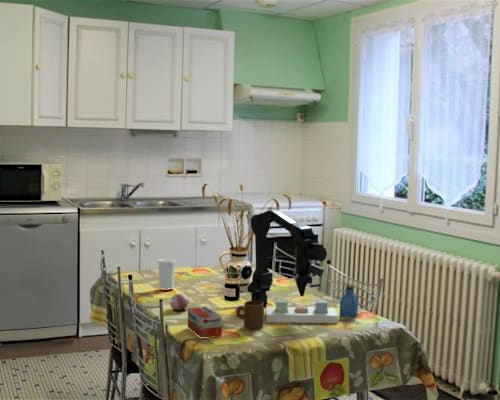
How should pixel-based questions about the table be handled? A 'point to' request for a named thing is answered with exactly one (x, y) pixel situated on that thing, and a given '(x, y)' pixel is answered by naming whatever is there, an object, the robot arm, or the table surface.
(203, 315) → the medicine box
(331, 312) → the panel
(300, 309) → the button terracotta
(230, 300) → the table surface
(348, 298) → the perfume bottle
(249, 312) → the mug
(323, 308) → the button slate
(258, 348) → the table surface
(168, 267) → the cup
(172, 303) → the onion
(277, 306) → the button sage
